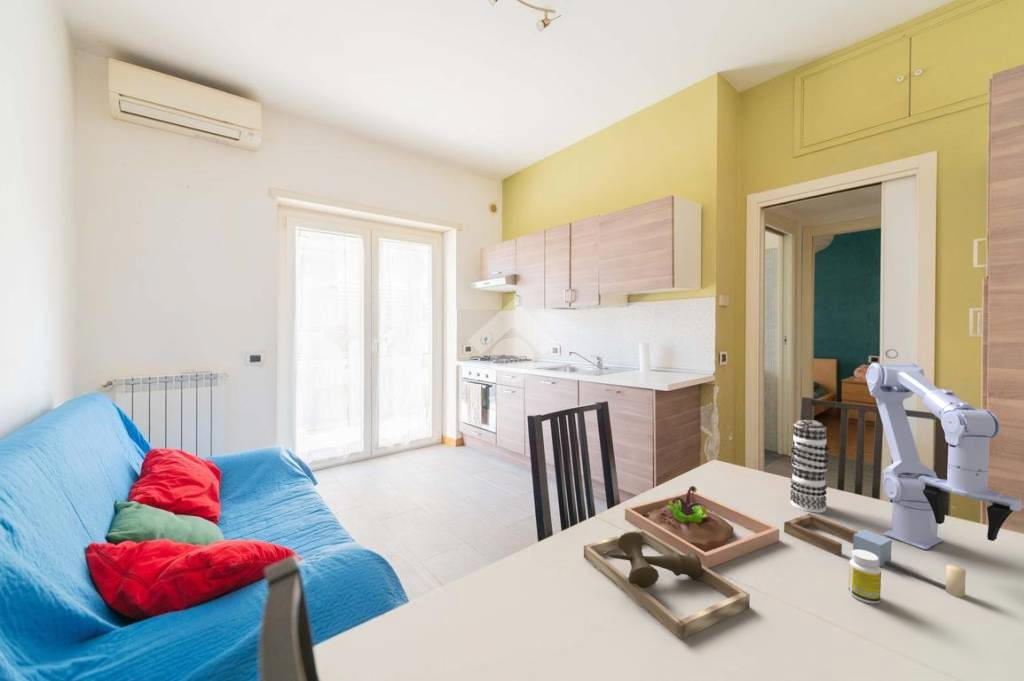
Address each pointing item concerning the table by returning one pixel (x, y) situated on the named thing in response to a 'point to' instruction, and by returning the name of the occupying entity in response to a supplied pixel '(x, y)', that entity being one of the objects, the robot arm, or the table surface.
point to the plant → (693, 523)
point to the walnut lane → (798, 530)
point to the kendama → (654, 561)
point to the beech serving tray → (679, 627)
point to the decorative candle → (809, 466)
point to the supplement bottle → (864, 576)
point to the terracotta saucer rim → (726, 552)
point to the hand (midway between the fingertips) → (964, 530)
